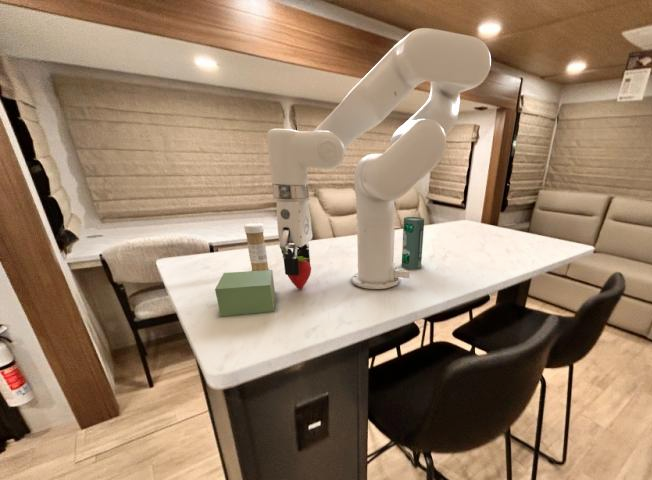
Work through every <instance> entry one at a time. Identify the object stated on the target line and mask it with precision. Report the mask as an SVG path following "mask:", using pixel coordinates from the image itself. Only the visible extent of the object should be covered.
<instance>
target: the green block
mask: <svg viewBox="0 0 652 480" xmlns="http://www.w3.org/2000/svg"><path fill="white" fill-rule="evenodd" d="M273 274H274V273H273V270H272V269H269V270H264V271H252V270H251V271H236V272H235V271H232V272H231V271H230V272H223V273H222V275H221V278H220V279H219V281H218V283H217V284H216V287H215V288H214V291H215V295H216V299H217V305H218V309H219V315H220V317H229V316H239V315H241V316H242V315H250V314H259V313H260V314H261V313H269V312H274V311H275V301H276V289H275V288H276V287H275V282H274V281H275V280H274V275H273Z"/></svg>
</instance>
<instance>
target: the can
mask: <svg viewBox="0 0 652 480" xmlns="http://www.w3.org/2000/svg"><path fill="white" fill-rule="evenodd" d="M402 226H403V227H402V228H403V229H402V247H401V248H402V250H401V267H402V269H405V270H412V271H415V270H420V269H421V268H422V261H423V260H422V259H423V244H424V231H425V218H423V217H418V216H405V217H403V224H402Z"/></svg>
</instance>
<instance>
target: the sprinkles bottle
mask: <svg viewBox="0 0 652 480" xmlns="http://www.w3.org/2000/svg"><path fill="white" fill-rule="evenodd" d="M243 228H244V232H245V236H246V242H247V249H248V257H249V261H250V267H251V271H264V270H270V269H269V263H268V254H267V248H266V242H265V235H264V232H265V231H264V225H263V224H262V223H255V222H254V223H246V224H244V226H243Z"/></svg>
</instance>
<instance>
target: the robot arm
mask: <svg viewBox="0 0 652 480" xmlns="http://www.w3.org/2000/svg"><path fill="white" fill-rule="evenodd" d="M491 66H492V58H491V53H490V50H489V48H488V46H487V45H486V43H485V42H484V41H483V40H482V39H480V38H478V37H475V36H472V35H467V34H461V33H457V32H452V31H446V30H441V29H436V28H429V27H423V28H422V27H421V28H416V29H414V30H412V31H410V32H409V33H408V34H407V35H406V36H405V37H403V38H402V39H400V40H399V41H398V42H397V43H396V44H394V45H393V47H392V48H391V49H390V50H389V51H388V52H387V53H386V54H385V55H384V56H383V57H382V58H381V59H380V60H379V61H378V62H377V63H376V64H375V66H373V67H372V68H371V69H370V70H369V71H368V73H366V75H365V76H363V77H362V78H361V80H359V81H358V83H356V84H355V86H354V87H352V89H351V90H350V91H349V92H348V93H347V95H346V96H345V97H344V98H343V99H342V101H341V102H340V103H339V104H338V105H337V106H336V107H335V108H334V109H333V110H332V111H331V113H329V114H328V115H327V117H325V119H323V120H322V122H320V124H318V125H317V127H316V128H315V129H314V130H311V131H310V130H309V131H300V130H297V129H289V128H272V129H269V130H268V131H267V133H266V144H267V153H268V160H269V162H268V163H269V169H270V178H271V187H272V197H273V200H274V201H276V221H277V223H276V224H277V234H278V235H277V236H278V240H279V248H280V250H281V254H282V259H283V266H284V274H285V276H288V275H299V274H300V271H299V260H298V258H297V256H303V257H302V258H309V259H308V260H307V261H308V262H309V263H310V264H311V258H310V257H311V256H310V244H309V242H310V241H311V240H312V239H313V236H314V235H313V228H312V227H313V226H312V218H311V210H310V205H309V201H310V190H309V176H308V168H313V169H314V168H315V169H319V170H325V171H329V170H334V169H336V168H337V167H339V166H341V164H342V162H343V161H344V158H345V155H346V153H345V152H346V151H345V150H346V148H348V146H349V145H351V144H352V143H353V142H354V141H356V140H357V138H359V137H360V136H362V135H363V134H365V133H366V132H369V131H370V130H372V129H374V128H375V127H377V126H378V125H379V124H381V123H382V122H383V121H384V120H385V119H386V118H387V117H388V116H389V115H390V114H391V113H392V112H393V111H394V110H395V109H396V108H397V107H398V105H399V104H401V102H403V101H404V100H405V98H406V97H408V95H409V94H411V92H412V91H413V90H414V89H415V88H417V87H418V86H419V85H422V83H425V82H428V81H429V82H430V92H429V97H428V99H427V101H426V102H425V103H424V104H423V105H422V106H421V108H419V109H418V110H417V111H416V112H415V113H414V114H413V115H412V116H411V117H409V118H408V120H406V121H405V122H404V123H403V124H402V125H400V126H399V127H398V128H397V129H396V130H395V131H394V133H393V134H392V135H391V138H390V140H389V141H390V142H389V147H388V148H387V149H386V150H385V151H383V153H370V154H367V155H365V156H363V157H362V158H361V159H360V160H359V161H358V162H357V164H356V165H355V166H356V167H355V170H354V174H353V183H354V184H353V185H354V193H355V202H356V219H357V220H356V233H357V235H356V236H357V237H356V239H357V240H356V241H357V243H356V244H357V245H356V246H357V272H356V273H354V274H353V275H352V277H351V278H352V279H351V282H352V283H353V285H355V286H357V287H359V288H362V289H366V290H367V289H368V290H384V289H385V290H386V289H389V288H393V287H395V286H396V285H398V284H399V279H400V278H403V279H410V276H411V271H410V270H406V269H405V268H398V267H396V263H395V262H394V259H395V257H394V253H395V231H396V230H395V225H396V207H395V201H396V200H398V199H400V198H402V197H403V196H405V195H406V194H407V193H408V192H411V190H412V189H414V187H415V186H416V185H417V184H419V183H420V182H421V181H422V180H423V179H424V178H425V177H426V176H427V175H428V174H429V173H430V172H431V171H432V170H433V169H435V168H436V166H438V165H439V163H440V162H441V160H442V158H443V156H444V154H445V152H446V148H447V135H448V134H449V133H450V132H451V131H452V130H453V129H454V128H455V126H456V124H457V122H458V118H459V113H460V106H461V93H464V92H466V91H469V90H472V89H475V88H478V87H479V86H480V85H481V84H483V83H484V81H485V80H486V79H487V77H488V75H489V73H490V70H491ZM299 251H300V252H299ZM297 254H298V255H297Z"/></svg>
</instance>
